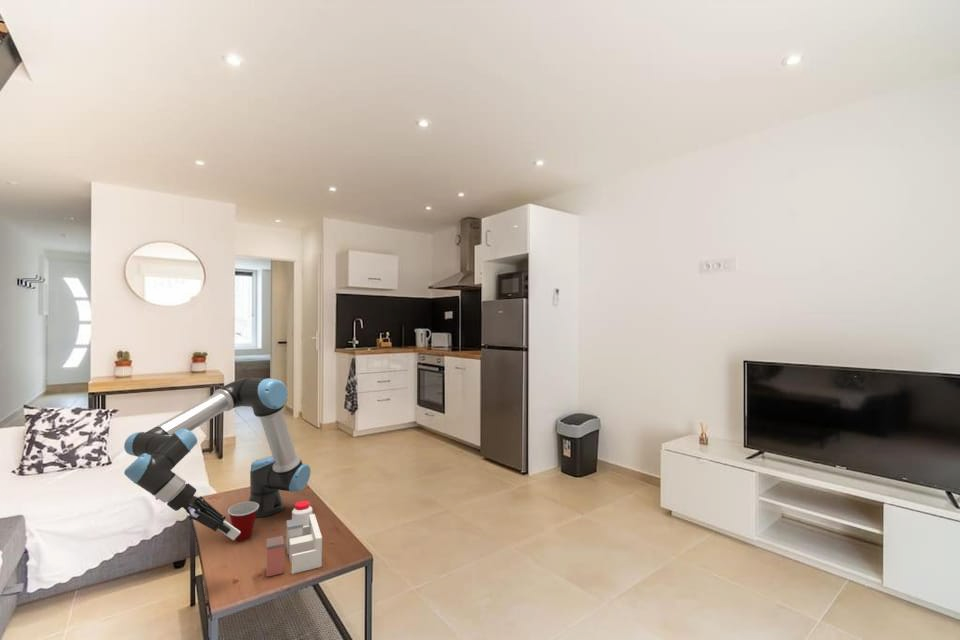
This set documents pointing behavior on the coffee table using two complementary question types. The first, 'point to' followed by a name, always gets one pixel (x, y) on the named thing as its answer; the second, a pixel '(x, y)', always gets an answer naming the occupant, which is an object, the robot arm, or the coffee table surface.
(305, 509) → the pill bottle
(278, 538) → the capped red pillar
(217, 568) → the coffee table surface
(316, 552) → the rack
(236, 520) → the plastic cup
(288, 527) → the grey capped white pillar
